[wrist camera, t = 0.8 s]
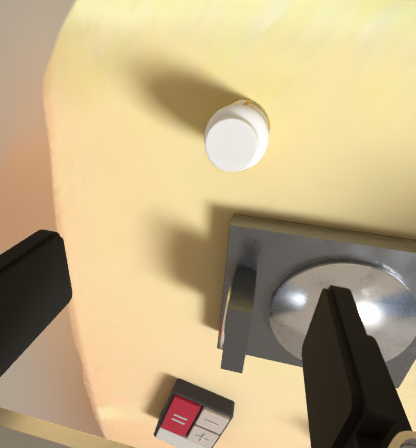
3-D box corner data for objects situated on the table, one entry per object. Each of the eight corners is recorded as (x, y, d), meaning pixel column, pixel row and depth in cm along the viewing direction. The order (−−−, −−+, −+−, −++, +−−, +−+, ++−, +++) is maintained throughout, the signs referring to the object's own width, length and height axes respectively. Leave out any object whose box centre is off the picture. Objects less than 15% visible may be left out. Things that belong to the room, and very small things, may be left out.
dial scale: (456, 245, 30) (528, 312, 22) (390, 367, 40) (422, 449, 31) (233, 214, 34) (219, 259, 26) (220, 332, 44) (206, 395, 35)
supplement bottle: (218, 152, 31) (196, 179, 23) (218, 99, 29) (194, 107, 21) (267, 154, 30) (264, 183, 22) (272, 99, 28) (270, 107, 20)
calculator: (233, 421, 48) (204, 463, 54) (236, 396, 51) (209, 438, 58) (172, 395, 48) (151, 440, 55) (179, 373, 52) (159, 417, 58)
